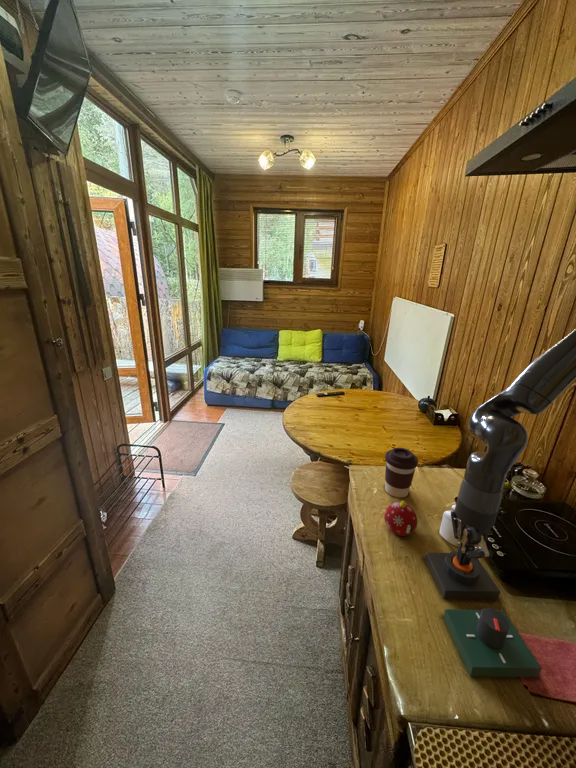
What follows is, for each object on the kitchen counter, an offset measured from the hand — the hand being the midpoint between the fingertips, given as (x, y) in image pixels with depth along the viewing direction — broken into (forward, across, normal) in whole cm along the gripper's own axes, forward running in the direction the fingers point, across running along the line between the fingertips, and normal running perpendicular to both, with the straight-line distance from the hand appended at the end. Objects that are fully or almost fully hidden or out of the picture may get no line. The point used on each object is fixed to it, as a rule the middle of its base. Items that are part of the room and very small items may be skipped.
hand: (462, 562), depth 71 cm
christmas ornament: (+6, +15, +9) cm, 18 cm away
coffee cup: (+6, +32, +4) cm, 33 cm away
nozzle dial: (+2, -14, +2) cm, 15 cm away
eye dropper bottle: (+6, +12, -4) cm, 14 cm away
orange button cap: (+2, 0, 0) cm, 2 cm away
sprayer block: (+5, 0, 0) cm, 5 cm away
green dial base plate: (+5, -14, +2) cm, 15 cm away
